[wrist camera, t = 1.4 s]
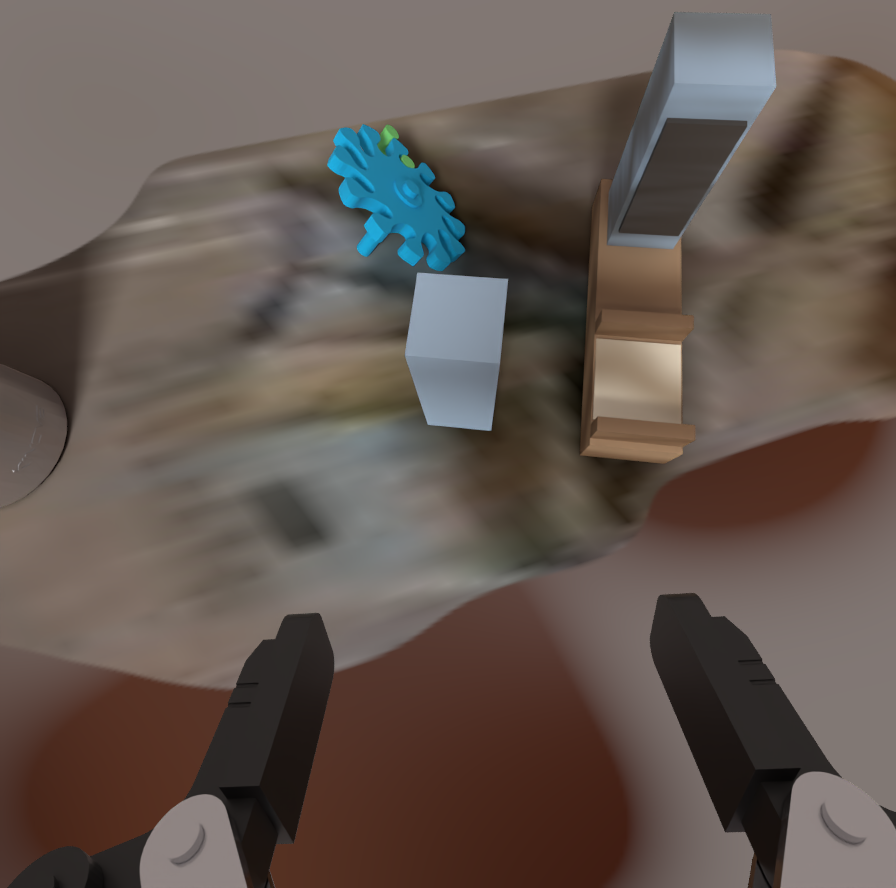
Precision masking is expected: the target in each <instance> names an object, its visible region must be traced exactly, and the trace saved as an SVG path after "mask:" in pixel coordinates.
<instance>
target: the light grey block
mask: <svg viewBox="0 0 896 888" xmlns="http://www.w3.org/2000/svg"><path fill="white" fill-rule="evenodd" d="M507 285H508V279H500V278H486V277H471V276H457V275H443V274H429V273H417V279H416V286H415V293H414V299H413V306H412V312H411V319H410V325H409V332H408V338H407V345H406V351H405V357H406V360H407V363H408V366H409V369H410V372H411V375H412V378H413V381H414V384H415V387H416V390H417V393H418V396H419V399H420V402H421V405H422V408H423V411H424V414H425V417H426V420H427V423H428V425H437V426H448V427H458V428H468V429H478V430H488V431H491V428H492V420H493V413H494V405H495V397H496V390H497V382H498V374H499V366H500V357H501V347H502V337H503V326H504V316H505V306H506V296H507Z"/></svg>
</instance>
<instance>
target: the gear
mask: <svg viewBox="0 0 896 888" xmlns="http://www.w3.org/2000/svg"><path fill="white" fill-rule="evenodd" d="M398 138H399V135H398V133H397V131H396V130H395V129H394V128H393V127H392V126H390V125H386V126H385V128H384V129H383V131H382V132H381V134H380V135H379V133H378V132H377V131H376V130H374V129H372V128H371V127H369V126H366V125H364V124H363V125H362V127H361V128H360V130H359V132H358V133H357V134H356V133H355V132H354V131H353V130H352V129H351V128H341V129H339V131H338V133H337V135H336V136H335V138H334V140H333V141H334V143H335V145H336V148H335V149H334V151H333V153H332V155H331V156H330V158H329V160H328V164H327V166H328V167H329V168H330V169H331V170H332V171H333V172H335V173H336V174H339V175H341V176H343V177H345V179H344V181H343V182H342V184H341V186H340V187H339V194H340V197H341V200H342V202H343V204H344V205H346V206H347V207H350V208H364V209H367V210H369V211H371V212H373V214H372V215H371V216H370V218H369V219H368V220H367V222H366V223H365V225H364V227H365V229H366V230H367V233H366V234H365V236H364V237H363V238H362V239H361V241H360V242H359V243H358V245H357V250H358V251H359V253H360V254H362V255H363V256H369V255H370V254H371V252H372V251H373V250H374V249H375V247H376V246H377V245H378V244H379V243H381V242H382V241H383V240H384V239H385V238H386V236H387V235H388V234H389V233H399V234H401V235H402V236H404V237H405V239H406V241H405V242H404V243H403V244H402V245H401V247H400V248H399V249H398V255H399V256H400V257H401V258H402V259H403V260H404V261H406V262H407V263H409V264H410V265H412V266H415V264H416V263H417V262H418V261H419V260H420V259H421V258H422V257H423V255H424V253H423V249H422V245H421V242H422V243H423V244H425V245H426V247H427V248H428V250H429V255H428V256H427V258H426V260H427V264H428V266H429V267H430V268H432V269H434V270H437V271H443V270H444V269H445V268H446V267H447V266H448V265H449V264H450V263H451V262H454V261H456V260H457V259H458V258H459V257H460V256H461V255H462V254H463V253H464V252H465V249H464V247H463V246H462V244H461V243H460V242H458V240H459V239H460V238H461V237H462V236H463V235H464V233H465V226H464V225H463V223H462V222H461V221H459V220H457V219H455V218H453V217H452V216H450V215H449V214H450V213H451V212H452V210H453V209H454V208H455V204H454V202H453V199H452V197H451V195H450V194H448V193H447V192H438V191H436V190H434V189H432V188H430V187H429V185H430V184H431V183H432V181H433V180H434V179H435V176H434V174H433V173H432V171H431V170H430V168H429V167H428V166H427V165H426V164H425V163H421V164H420V165H419V166H418V168H416V169H415V168H414V167H415V166H414V163H413V161H412V160H411V159H410V158H409V157H408V156H407V155H408V150H407V149H406V148H405V147H404V146H403V145H402V144H401V143H400V142H399V141H398ZM360 146H361V147H362V149H363V150H364V151H363V150H362V149H361V147H360Z"/></svg>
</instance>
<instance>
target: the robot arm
mask: <svg viewBox="0 0 896 888" xmlns="http://www.w3.org/2000/svg"><path fill="white" fill-rule="evenodd" d="M66 435H67V417H66V412H65V407H64V405H63V403H62V401H61V399H60V397H59V395H58V394H57V393H56V392H55V391H54V390H53V389H52V388H51V387H50V386H49V385H47V384H46V383H44V382H43V381H41V380H39V379H36V378H34V377H32V376H29V375H27V374H24V373H22V372H20V371H17V370H15V369H13V368H10V367H8V366H5V365H3V364H1V363H0V508H1V507H4V506H7V505H10V504H12V503H14V502H16V501H18V500H20V499H22V498H23V497H25V496H26V495H28V494H29V493H30V492H31V491H33V490H34V489H35V488H37V487H38V486H39V485H40V484H41V482H42V481H43V480H44V479H45V478H46V477H47V476H48V475H49V473H50V472H51V470H52V469H53V467H54V466H55V464H56V463H57V461H58V459H59V457H60V454H61V452H62V450H63V448H64V443H65V439H66ZM650 647H651V653H652V657H653V661H654V664H655V666H656V669H657V671H658V674H659V676H660V678H661V680H662V683H663V685H664V688H665V690H666V693H667V695H668V697H669V700H670V702H671V704H672V707H673V709H674V712H675V714H676V716H677V719H678V721H679V724H680V726H681V728H682V731H683V733H684V735H685V738H686V740H687V742H688V745H689V747H690V750H691V752H692V754H693V757H694V759H695V762H696V764H697V766H698V769H699V771H700V773H701V776H702V778H703V780H704V783H705V785H706V788H707V790H708V792H709V795H710V797H711V800H712V802H713V804H714V807H715V809H716V811H717V814H718V816H719V819H720V821H721V823H722V826H723V828H724V831H725V832H746V835H747V837H748V839H749V841H750V843H751V846H752V848H753V850H754V854H753V857H752V863H751V869H750V875H749V881H748V887H747V888H896V812H894V811H891V810H888V809H886V808H884V807H882V806H880V805H878V804H877V803H876V802H875V801H874V800H873V799H872V798H871V797H870V796H868V795H867V794H866V793H865V792H864V791H862V790H861V789H860V788H858V787H857V786H855V785H853V784H852V783H850V782H849V781H847V780H845V779H843V778H842V777H841V776H840V775H839V774H838V773H837V772H836V770H835V769H834V768H833V767H832V765H831V764H830V763H829V762H828V760H827V759H826V757H825V755H824V754H823V752H822V751H821V749H820V748H819V746H818V745H817V743H816V741H815V740H814V738H813V737H812V735H811V734H810V732H809V731H808V730H807V728H806V726H805V724H804V723H803V721H802V720H801V718H800V717H799V715H798V714H797V712H796V711H795V709H794V707H793V706H792V704H791V703H790V701H789V700H788V699H787V697H786V695H785V694H784V692H783V691H782V689H781V687H780V686H779V684H776V682H775V678H774V677H773V675H772V674H771V672H770V671H769V669H768V668H767V666H766V664H763V662H762V658H761V657H760V655H759V654H758V652H757V650H756V649H755V647H754V646H753V644H752V643H751V641H750V640H749V638H748V637H747V636H746V635H745V634H744V633H743V632H742V631H741V630H740V629H738V628H737V627H736V626H735V625H734V624H733V623H732V622H730V621H729V620H728V619H727V618H726V617H725V616H723V617H711V615H710V614H709V612H708V610H707V609H706V607H705V605H704V604H703V602H702V600H701V599H700V598H699V596H698V595H696V594H695V593H686V594H668V595H660V596H659V597H658V600H657V605H656V610H655V615H654V620H653V625H652V630H651V635H650ZM333 674H334V655H333V650H332V647H331V644H330V641H329V638H328V635H327V632H326V629H325V627H324V624H323V621H322V618H321V616H320V614H319V613H309V614H291V615H287V616H285V618H284V619H283V621H282V623H281V626H280V628H279V631H278V634H277V636H276V639H271V640H263V641H262V642H261V643H260V644H259V646H258V647H257V648H256V649H255V650H254V652H253V653H252V654H251V655H250V656H249V658H248V659H247V660H246V662H245V664H244V667H243V669H242V671H241V674H240V676H239V678H238V681H237V683H236V688H234V690H233V692H232V695H231V697H230V699H229V702H228V707H227V708H226V709H225V711H224V714H223V716H222V718H221V721H220V723H219V725H218V728H217V730H216V732H215V735H214V737H213V740H212V742H211V744H210V746H209V749H208V751H207V753H206V756H205V758H204V760H203V763H202V765H201V768H200V770H199V772H198V775H197V777H196V779H195V782H194V784H193V786H192V788H191V790H190V791H189V793H188V795H187V796H186V798H185V799H184V800H183V801H182V802H181V803H179V804H178V805H176V806H175V807H174V808H172V809H171V810H170V811H169V812H168V813H167V814H166V815H165V816H164V817H163V818H162V819H161V820H160V822H159V823H158V824H157V826H156V827H155V828H154V829H152V830H151V831H149V832H147V833H145V834H143V835H141V836H139V837H136V838H134V839H131V840H129V841H127V842H124V843H122V844H119V845H117V846H114V847H112V848H110V849H107V850H105V851H102V852H100V853H97V854H95V855H93V856H88V855H87V854H86V853H85V852H84V851H82V850H81V849H80V848H77V847H73V846H72V847H71V846H67V847H62V848H58V849H56V850H53V851H51V852H49V853H47V854H45V855H43V856H42V857H40V858H39V859H37V860H36V861H34V862H33V863H32V864H31V865H29V866H28V867H27V868H26V869H25V870H24V871H22V872H21V873H20V874H19V875H18V876H17V877H16V879H15V880H14V881H13V882H12V883H11V884H10V885H9V887H8V888H275V886H274V883H273V880H272V877H271V873H270V871H269V869H270V865H271V861H272V857H273V853H274V850H275V846H276V844H292V843H294V840H295V836H296V832H297V828H298V823H299V819H300V815H301V811H302V807H303V802H304V798H305V794H306V790H307V786H308V781H309V777H310V773H311V769H312V765H313V760H314V756H315V752H316V748H317V743H318V739H319V735H320V731H321V727H322V722H323V718H324V714H325V710H326V705H327V701H328V697H329V693H330V688H331V684H332V680H333Z"/></svg>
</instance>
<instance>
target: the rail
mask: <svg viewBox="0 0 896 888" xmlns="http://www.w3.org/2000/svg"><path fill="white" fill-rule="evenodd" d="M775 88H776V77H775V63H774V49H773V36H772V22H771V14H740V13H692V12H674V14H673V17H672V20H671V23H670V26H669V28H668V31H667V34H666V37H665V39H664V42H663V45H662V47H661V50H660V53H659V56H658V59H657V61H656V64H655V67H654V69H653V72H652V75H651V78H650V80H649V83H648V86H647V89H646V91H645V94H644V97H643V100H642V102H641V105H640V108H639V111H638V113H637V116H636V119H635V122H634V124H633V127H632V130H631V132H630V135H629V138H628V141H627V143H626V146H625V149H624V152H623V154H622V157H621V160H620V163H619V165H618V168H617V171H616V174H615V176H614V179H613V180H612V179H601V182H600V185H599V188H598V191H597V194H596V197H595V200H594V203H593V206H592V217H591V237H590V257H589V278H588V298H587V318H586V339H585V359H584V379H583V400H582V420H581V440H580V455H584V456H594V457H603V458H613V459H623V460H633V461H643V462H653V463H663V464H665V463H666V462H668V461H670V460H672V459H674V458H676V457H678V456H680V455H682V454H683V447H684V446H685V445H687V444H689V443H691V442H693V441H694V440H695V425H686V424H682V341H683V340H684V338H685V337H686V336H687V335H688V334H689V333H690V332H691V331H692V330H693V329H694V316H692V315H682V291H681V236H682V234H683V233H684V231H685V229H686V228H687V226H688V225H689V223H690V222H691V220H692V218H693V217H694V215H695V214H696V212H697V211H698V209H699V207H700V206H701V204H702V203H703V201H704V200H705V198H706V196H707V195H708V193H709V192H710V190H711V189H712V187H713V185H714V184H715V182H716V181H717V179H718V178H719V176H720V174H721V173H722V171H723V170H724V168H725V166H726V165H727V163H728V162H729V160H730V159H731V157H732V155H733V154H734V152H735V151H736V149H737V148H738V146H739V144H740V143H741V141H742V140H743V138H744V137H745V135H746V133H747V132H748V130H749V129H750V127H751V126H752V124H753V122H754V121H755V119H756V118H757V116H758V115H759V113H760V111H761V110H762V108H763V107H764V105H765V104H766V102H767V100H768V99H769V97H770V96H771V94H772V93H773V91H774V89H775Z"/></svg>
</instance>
